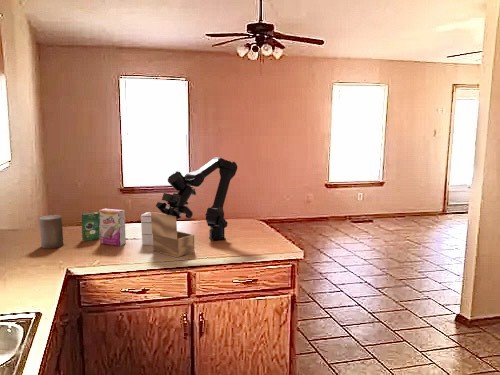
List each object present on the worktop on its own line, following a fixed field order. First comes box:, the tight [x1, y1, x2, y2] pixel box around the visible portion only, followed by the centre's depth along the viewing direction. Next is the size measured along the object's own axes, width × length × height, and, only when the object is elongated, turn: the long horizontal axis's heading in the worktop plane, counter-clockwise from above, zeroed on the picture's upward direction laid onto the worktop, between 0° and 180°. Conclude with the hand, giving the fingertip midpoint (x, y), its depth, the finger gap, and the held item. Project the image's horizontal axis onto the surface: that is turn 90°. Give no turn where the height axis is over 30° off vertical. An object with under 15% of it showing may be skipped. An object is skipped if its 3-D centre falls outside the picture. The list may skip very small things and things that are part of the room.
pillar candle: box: [39, 213, 64, 249], centre depth 227 cm, size 10×10×15 cm
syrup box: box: [140, 211, 153, 246], centre depth 232 cm, size 6×6×14 cm
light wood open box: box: [152, 230, 196, 258], centre depth 219 cm, size 10×16×8 cm, turn 51°
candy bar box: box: [98, 208, 127, 247], centre depth 230 cm, size 11×5×16 cm, turn 71°
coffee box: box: [81, 211, 100, 242], centre depth 239 cm, size 8×3×13 cm, turn 129°
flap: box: [150, 211, 178, 240], centre depth 213 cm, size 10×16×1 cm
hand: (164, 225), depth 213 cm, fingers closed, pressing on flap
